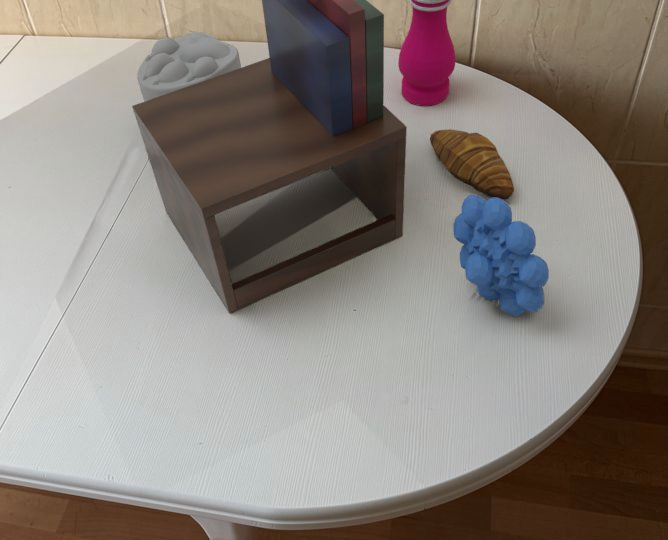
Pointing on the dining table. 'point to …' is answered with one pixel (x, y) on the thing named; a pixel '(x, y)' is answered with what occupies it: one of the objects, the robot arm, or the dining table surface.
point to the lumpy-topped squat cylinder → (185, 63)
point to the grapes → (500, 255)
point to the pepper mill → (427, 54)
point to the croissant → (473, 161)
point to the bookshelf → (283, 139)
